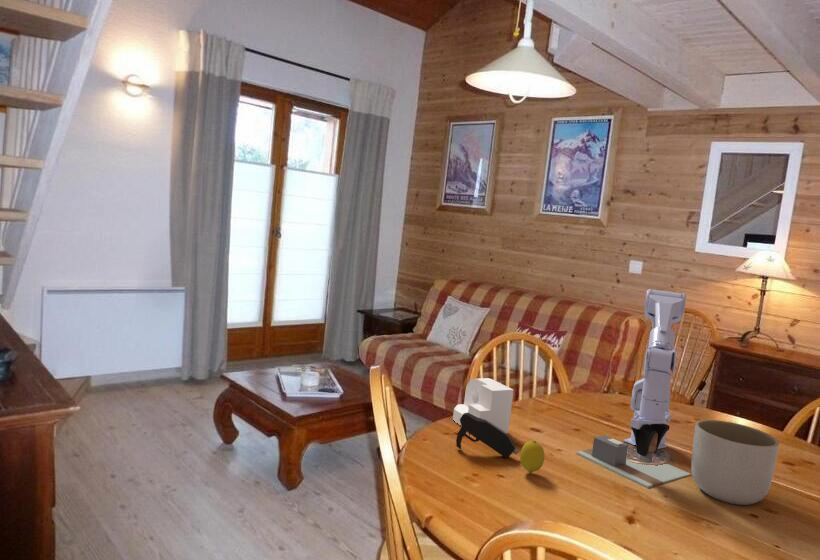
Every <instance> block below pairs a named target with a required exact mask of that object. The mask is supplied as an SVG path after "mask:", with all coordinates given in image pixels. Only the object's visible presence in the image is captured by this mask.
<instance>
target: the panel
mask: <svg viewBox="0 0 820 560" xmlns="http://www.w3.org/2000/svg"><path fill="white" fill-rule="evenodd" d="M592 450H593V448H589V449H584V450H579V451H576V453H575V454H576V455H577V456H579V457H582V458H584V459H586V460H588V461H590V462H592V463H595V464H596V465H598V466H600V467H603V468H604V469H606V470H608V471H611V472H613V473H615V474H617V475H619V476H621V477H622V478H625V479H628V480H630V481H631V482H634V483H636V484H638V485H640V486H641V487H643V488H646V489H649V488H652V487H655V486H656V487H657V486H660V485H663V484H666V483H670V482H672V481H673V482H674V481H675V480H679V479H682V478H685V477H688V476H691V475H692V473H690V472H687V471H686V470H682V469H681V468H678V467H676V466H673V465H672V464H669V463H667V464H663V465H658V466H655V465H644V464H643V465H642V464H636V463H632V462H630V461H628V460H626V464H624V465H620V466H616V467H614V466H612V465H609V464H607V463H605V462H603V461H601V460H599V459H597V458H595V457H593V456H592Z"/></svg>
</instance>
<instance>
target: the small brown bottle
mask: <svg viewBox="0 0 820 560" xmlns="http://www.w3.org/2000/svg"><path fill="white" fill-rule="evenodd" d="M657 438H658V433H655V434H654V436H653V438H652V440H651V442H650V446H649V450H648V453H647V455H646V456H642V455H640V454H639V460H640V461H642V462H645V463H652V460H653V458H654V454H655V453H654V451H656V445H657ZM656 452H657V451H656Z"/></svg>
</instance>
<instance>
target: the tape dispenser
mask: <svg viewBox="0 0 820 560" xmlns="http://www.w3.org/2000/svg"><path fill="white" fill-rule="evenodd" d="M464 393H465V394H464V401H463V404H462V403H461V404H460V403H459V404H456V406H455V407H454V408H453V415H452V421H453V420H454V421H455V422H454V421H453V422H454V423H456V424H457V423H458V425H459V426H460V425H461V423H460V418H461V417H462V415H463V414H464V413H470V414H472V415H474V416H476V417H477V418H481V419H484V420H486V421H488V422H491V423H492V424H494V425H495V426H497V427H498V428H500V429H501V430H503V431H504V432H506V434H509V431H510V424H511V423H510V420H511V413H512V406H513V399H514V398H513V397H514V389H513V388H511V387H509V386H507V385H504V384H503V383H501V382H499V381H497V380H494V379H493V378H489V377H483V378H482V377H480V378H472V379H470V380H469V381H468V382H467V384H466V387H465V392H464Z"/></svg>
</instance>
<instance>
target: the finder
mask: <svg viewBox="0 0 820 560" xmlns="http://www.w3.org/2000/svg"><path fill="white" fill-rule="evenodd" d="M592 444H593V445H592V449H593V450H592V456H593V457H595V458H597V459H599V460H601V461H603V462H605V463H607V464H609V465H612V466H614V467H616V466H620V465H624V464H626V459H627V452H628V447H629V445H628V443H626V442H625V443H624V442H622V441H620V440H618V439H615V438H613V437H610V436H608V435H606V434H605V435H600V436H594V437H593V443H592Z"/></svg>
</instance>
